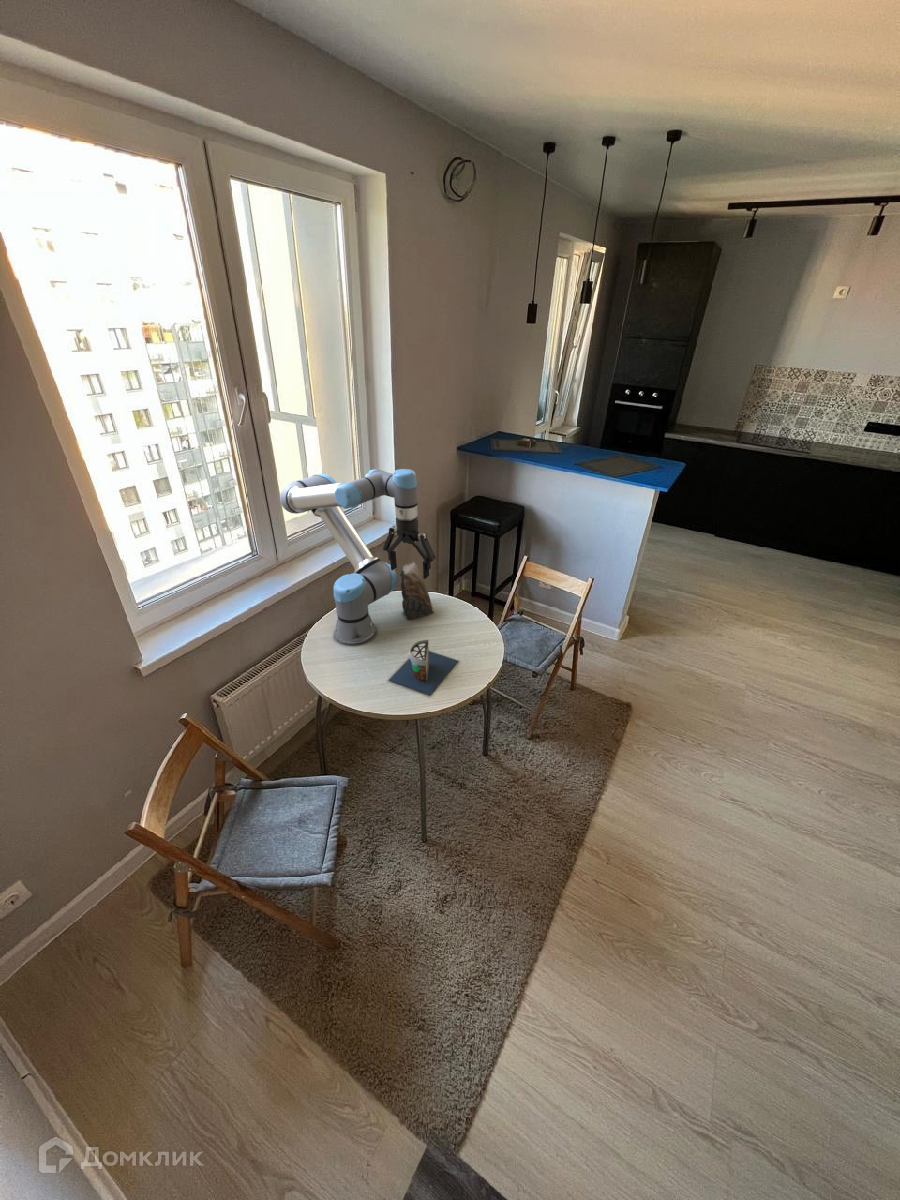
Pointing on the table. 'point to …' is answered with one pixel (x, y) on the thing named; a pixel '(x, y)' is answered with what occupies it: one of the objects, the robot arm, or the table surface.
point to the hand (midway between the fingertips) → (409, 572)
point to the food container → (420, 659)
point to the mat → (436, 674)
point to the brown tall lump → (414, 593)
